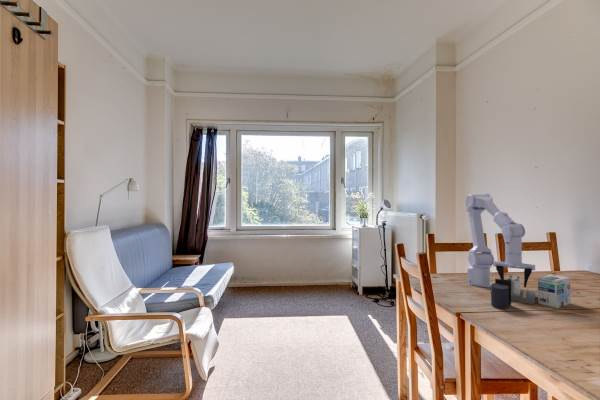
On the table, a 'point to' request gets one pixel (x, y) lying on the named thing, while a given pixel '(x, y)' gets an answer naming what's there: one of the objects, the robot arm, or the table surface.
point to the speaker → (501, 293)
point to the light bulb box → (554, 290)
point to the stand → (524, 297)
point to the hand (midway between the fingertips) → (513, 285)
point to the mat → (534, 291)
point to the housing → (515, 285)
